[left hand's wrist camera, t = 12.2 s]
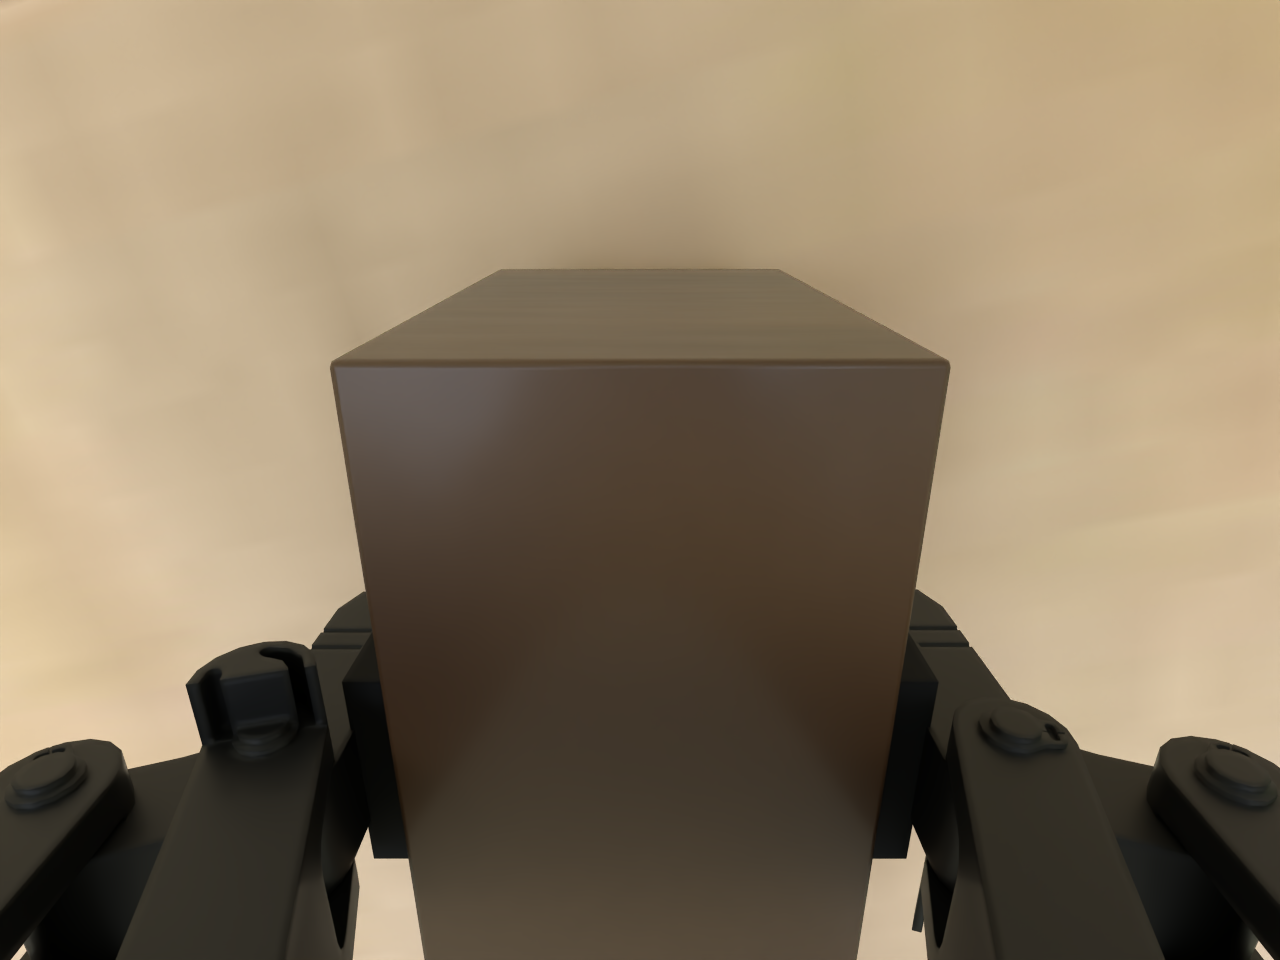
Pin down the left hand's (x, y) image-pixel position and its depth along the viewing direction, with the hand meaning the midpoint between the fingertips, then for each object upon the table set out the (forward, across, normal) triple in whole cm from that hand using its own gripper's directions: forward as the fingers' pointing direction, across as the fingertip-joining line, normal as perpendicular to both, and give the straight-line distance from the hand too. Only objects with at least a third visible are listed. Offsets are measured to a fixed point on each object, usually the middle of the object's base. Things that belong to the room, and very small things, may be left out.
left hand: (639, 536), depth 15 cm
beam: (+1, 0, -29) cm, 29 cm away
